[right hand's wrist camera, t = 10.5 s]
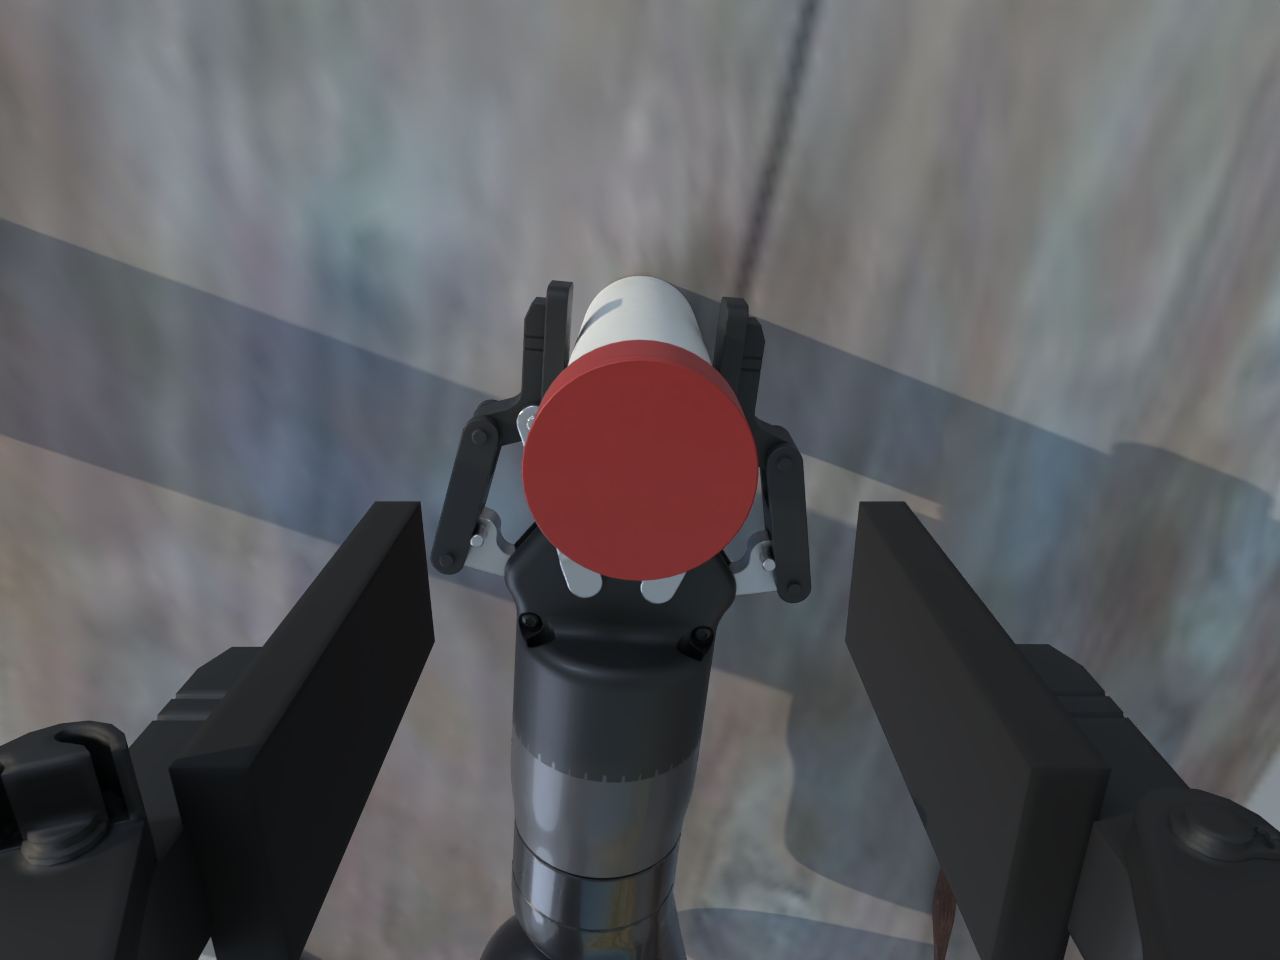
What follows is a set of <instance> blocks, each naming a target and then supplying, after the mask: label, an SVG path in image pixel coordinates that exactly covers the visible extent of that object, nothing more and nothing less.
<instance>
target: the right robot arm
mask: <svg viewBox="0 0 1280 960" xmlns="http://www.w3.org/2000/svg"><path fill="white" fill-rule="evenodd" d="M434 642H435V638H434V629H433V619H432V609H431V600H430V590H429V580H428V571H427V561H426V551H425V542H424V532H423V522H422V512H421V503H420V502H375V503H374V504H373V505H372V507H371V508H370V509H369V510H368V512H367V513H366V514H365V516H364V517H363V518H362V519H361V521H360V522H359V523H358V525H357V526H356V527H355V528H354V530H353V531H352V532H351V534H350V535H349V536H348V537H347V539H346V540H345V541H344V543H343V544H342V545H341V546H340V548H339V549H338V550H337V552H336V553H335V554H334V555H333V557H332V558H331V559H330V561H329V562H328V563H327V564H326V566H325V567H324V568H323V570H322V571H321V572H320V573H319V575H318V576H317V577H316V579H315V580H314V581H313V583H312V584H311V585H310V586H309V588H308V589H307V590H306V592H305V593H304V594H303V595H302V597H301V598H300V599H299V601H298V602H297V603H296V604H295V606H294V607H293V608H292V610H291V611H290V612H289V613H288V615H287V616H286V617H285V619H284V620H283V621H282V622H281V624H280V625H279V626H278V628H277V629H276V630H275V631H274V633H273V634H272V635H271V637H270V638H269V639H268V640H267V642H266V643H265V644H264V646H263V647H231V648H230V649H228V650H227V651H225V652H223V653H222V654H220V655H219V656H217V657H216V658H214V659H212V660H211V661H209V662H208V663H206V664H205V665H203V666H201V667H200V668H198V669H197V670H196V672H195V673H194V674H193V675H192V676H191V677H190V678H189V680H188V681H187V682H186V683H185V684H184V685H183V686H182V688H181V689H180V690H179V691H178V692H177V693H176V698H175V699H171V700H170V701H169V703H168V704H167V705H166V706H165V707H164V708H163V709H162V711H161V712H160V713H159V714H158V718H157V721H152V722H151V723H150V724H149V726H148V727H147V728H146V729H145V730H144V731H143V732H142V734H141V735H140V736H139V737H138V738H137V739H136V740H135V742H134V743H133V744H132V745H131V746H130V747H129V749H128V745H127V741H126V738H125V734H124V733H123V732H122V731H120V730H119V729H117V728H116V727H115V726H113V725H112V724H108V723H101V722H95V721H81V722H72V723H62V724H58V725H54V726H51V727H47V728H44V729H40V730H37V731H33V732H30V733H27V734H25V735H23V736H21V737H19V738H17V739H15V740H13V741H10V742H8V743H6V744H4V745H2V746H0V960H198V959H199V957H200V955H201V954H202V952H203V950H204V948H205V946H206V945H207V943H208V941H209V939H210V937H211V940H212V943H213V947H214V951H215V955H216V959H217V960H299V958H300V956H301V953H302V951H303V949H304V946H305V944H306V942H307V939H308V937H309V935H310V932H311V930H312V928H313V925H314V923H315V921H316V918H317V916H318V914H319V911H320V909H321V907H322V904H323V902H324V900H325V897H326V895H327V893H328V890H329V888H330V886H331V883H332V881H333V879H334V876H335V874H336V871H337V869H338V867H339V864H340V862H341V860H342V857H343V855H344V853H345V850H346V848H347V846H348V843H349V841H350V839H351V836H352V834H353V832H354V829H355V827H356V825H357V822H358V820H359V818H360V815H361V813H362V811H363V808H364V806H365V804H366V801H367V799H368V797H369V794H370V792H371V790H372V787H373V785H374V783H375V780H376V778H377V775H378V773H379V771H380V768H381V766H382V764H383V761H384V759H385V757H386V754H387V752H388V750H389V747H390V745H391V743H392V740H393V738H394V736H395V733H396V731H397V729H398V726H399V724H400V722H401V719H402V717H403V715H404V712H405V710H406V708H407V705H408V703H409V701H410V698H411V696H412V694H413V691H414V689H415V687H416V684H417V682H418V679H419V677H420V675H421V672H422V670H423V668H424V665H425V663H426V661H427V658H428V656H429V654H430V651H431V649H432V647H433V644H434ZM845 642H846V644H847V647H848V649H849V651H850V654H851V656H852V658H853V661H854V663H855V665H856V668H857V670H858V672H859V675H860V677H861V679H862V682H863V684H864V687H865V689H866V691H867V694H868V696H869V698H870V701H871V703H872V705H873V708H874V710H875V712H876V715H877V717H878V719H879V722H880V724H881V726H882V729H883V731H884V733H885V736H886V738H887V740H888V743H889V745H890V747H891V750H892V752H893V754H894V757H895V759H896V761H897V764H898V766H899V768H900V771H901V773H902V775H903V778H904V780H905V783H906V785H907V787H908V790H909V792H910V794H911V797H912V799H913V801H914V804H915V806H916V808H917V811H918V813H919V815H920V818H921V820H922V822H923V825H924V827H925V829H926V832H927V834H928V836H929V839H930V841H931V843H932V846H933V848H934V850H935V853H936V855H937V857H938V860H939V862H940V864H941V867H942V869H943V871H944V874H945V876H946V879H947V881H948V883H949V886H950V888H951V890H952V893H953V895H954V897H955V900H956V902H957V904H958V907H959V909H960V911H961V914H962V916H963V918H964V921H965V923H966V925H967V928H968V930H969V932H970V935H971V937H972V939H973V942H974V944H975V946H976V949H977V951H978V953H979V956H980V958H981V960H1063V959H1064V955H1065V951H1066V947H1067V943H1068V940H1069V936H1070V935H1071V937H1072V939H1073V940H1074V942H1075V944H1076V946H1077V948H1078V949H1079V951H1080V953H1081V955H1082V957H1083V958H1084V960H1280V832H1279V831H1278V830H1277V829H1275V828H1274V827H1273V826H1272V825H1270V824H1269V823H1268V822H1267V821H1266V820H1264V819H1263V818H1262V817H1261V816H1259V815H1258V814H1256V813H1254V812H1252V811H1250V810H1248V809H1247V808H1245V807H1243V806H1241V805H1239V804H1237V803H1235V802H1233V801H1231V800H1230V799H1227V798H1223V797H1220V796H1217V795H1214V794H1211V793H1208V792H1205V791H1202V790H1198V789H1190V788H1189V787H1188V786H1187V785H1186V783H1185V782H1184V781H1183V780H1182V779H1181V778H1180V777H1179V775H1178V774H1177V773H1176V772H1175V771H1174V770H1173V769H1172V767H1171V766H1170V765H1169V764H1168V763H1167V762H1166V761H1165V759H1164V758H1163V757H1162V756H1161V755H1160V754H1159V753H1158V751H1157V750H1156V749H1155V748H1154V747H1153V746H1152V745H1151V743H1150V742H1149V741H1148V740H1147V739H1146V738H1145V737H1144V735H1143V734H1142V733H1141V732H1140V731H1139V730H1138V729H1137V727H1136V726H1135V725H1134V724H1133V723H1132V722H1131V721H1130V719H1129V718H1124V716H1123V712H1122V710H1121V709H1120V708H1119V707H1118V706H1117V705H1116V704H1115V702H1114V701H1113V700H1112V699H1111V698H1110V697H1109V696H1105V691H1104V690H1103V689H1102V688H1101V686H1100V685H1099V684H1098V683H1097V682H1096V681H1095V680H1094V678H1093V677H1092V676H1091V675H1090V674H1089V673H1088V672H1087V670H1086V669H1085V668H1084V667H1083V666H1082V665H1080V664H1079V663H1077V662H1076V661H1074V660H1072V659H1071V658H1069V657H1068V656H1066V655H1064V654H1063V653H1061V652H1060V651H1058V650H1057V649H1055V648H1053V647H1052V646H1050V645H1049V644H1015V643H1014V642H1013V640H1012V639H1011V638H1010V637H1009V635H1008V634H1007V633H1006V631H1005V630H1004V629H1003V628H1002V626H1001V625H1000V624H999V622H998V621H997V620H996V619H995V617H994V616H993V615H992V613H991V612H990V611H989V610H988V608H987V607H986V606H985V604H984V603H983V602H982V601H981V599H980V598H979V597H978V595H977V594H976V593H975V592H974V590H973V589H972V588H971V586H970V585H969V584H968V583H967V581H966V580H965V579H964V577H963V576H962V575H961V573H960V572H959V571H958V570H957V568H956V567H955V566H954V564H953V563H952V562H951V561H950V559H949V558H948V557H947V555H946V554H945V553H944V552H943V550H942V549H941V548H940V546H939V545H938V544H937V543H936V541H935V540H934V539H933V537H932V536H931V535H930V534H929V532H928V531H927V530H926V528H925V527H924V526H923V525H922V523H921V522H920V521H919V519H918V518H917V517H916V516H915V514H914V513H913V512H912V510H911V509H910V508H909V507H908V505H907V504H906V503H905V502H860V503H859V512H858V522H857V532H856V542H855V551H854V561H853V571H852V580H851V590H850V600H849V609H848V619H847V629H846V638H845Z"/></svg>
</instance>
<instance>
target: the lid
mask: <svg viewBox="0 0 1280 960" xmlns="http://www.w3.org/2000/svg"><path fill="white" fill-rule="evenodd" d="M522 482H523V490H524V494H525V497H526V501H527V504H528V507H529V509H530V511H531V514H532V516H533V518H534V520H535V522H536V523H537V525H538V527H539V528H540V530H541V531H542V532H543V534H544V535H545V536H546V538H547V539H548V540H549V541H550V542H551V543H552V544H553V545H554V546H555V547H556V548H557V549H558V550H559V551H560V552H561V553H563V554H564V555H565V556H567V557H568V558H569V559H570V560H572V561H574V562H575V563H577V564H579V565H580V566H582V567H584V568H586V569H588V570H591V571H593V572H595V573H598V574H601V575H605V576H608V577H611V578H617V579H623V580H635V581H645V580H657V579H663V578H668V577H672V576H675V575H679V574H682V573H685V572H687V571H689V570H691V569H694V568H696V567H698V566H700V565H701V564H703V563H705V562H706V561H708V560H710V559H711V558H712V557H714V556H715V555H716V554H717V553H719V552H720V551H721V550H722V549H723V548H724V547H725V546H726V545H727V544H728V543H729V542H730V541H731V540H732V539H733V538H734V536H735V535H736V534H737V532H738V531H739V530H740V528H741V527H742V525H743V523H744V522H745V520H746V518H747V516H748V514H749V512H750V509H751V507H752V504H753V501H754V497H755V494H756V490H757V482H758V457H757V451H756V445H755V442H754V439H753V436H752V432H751V430H750V427H749V425H748V422H747V420H746V418H745V415H744V413H743V410H742V408H741V405H740V403H739V401H738V399H737V397H736V395H735V393H734V392H733V390H732V388H731V387H730V385H729V384H728V382H727V381H726V380H725V379H724V378H723V377H722V375H721V374H720V373H719V372H718V371H717V370H716V369H715V368H714V367H712V366H711V365H710V364H709V363H708V362H707V361H705V360H704V359H702V358H700V357H699V356H697V355H696V354H694V353H692V352H690V351H688V350H686V349H684V348H681V347H678V346H675V345H672V344H669V343H665V342H660V341H655V340H626V341H620V342H615V343H610V344H607V345H605V346H602V347H599V348H596V349H594V350H592V351H590V352H588V353H586V354H584V355H582V356H581V357H579V358H578V359H577V360H575V361H574V362H572V363H571V364H570V365H569V366H568V367H566V368H565V369H564V370H563V371H562V372H561V373H560V374H559V375H558V376H557V378H556V379H555V380H554V381H553V382H552V384H551V385H550V387H549V388H548V390H547V392H546V393H545V395H544V397H543V399H542V401H541V403H540V406H539V408H538V410H537V413H536V415H535V418H534V420H533V422H532V425H531V427H530V430H529V432H528V435H527V439H526V442H525V445H524V450H523V457H522Z"/></svg>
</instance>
